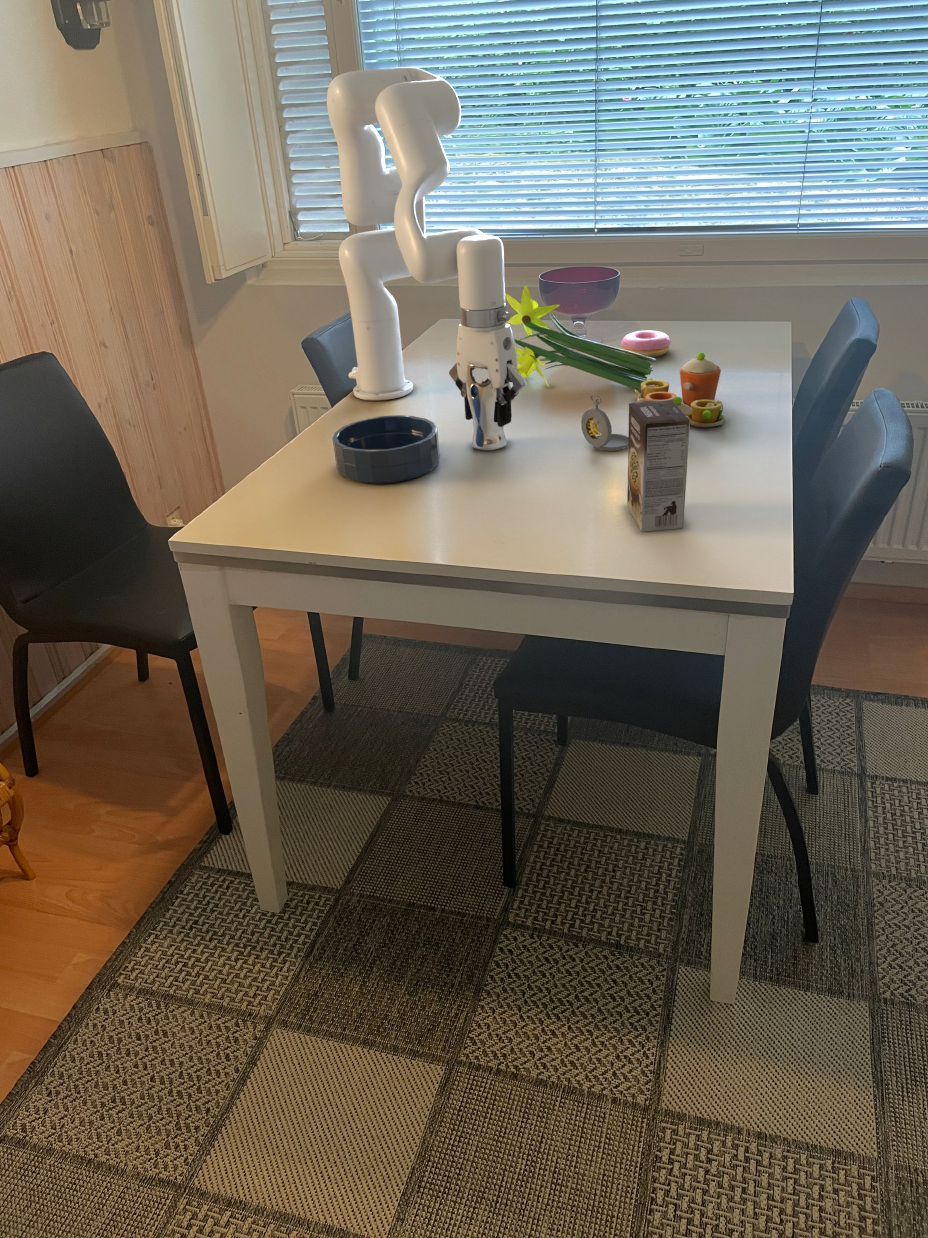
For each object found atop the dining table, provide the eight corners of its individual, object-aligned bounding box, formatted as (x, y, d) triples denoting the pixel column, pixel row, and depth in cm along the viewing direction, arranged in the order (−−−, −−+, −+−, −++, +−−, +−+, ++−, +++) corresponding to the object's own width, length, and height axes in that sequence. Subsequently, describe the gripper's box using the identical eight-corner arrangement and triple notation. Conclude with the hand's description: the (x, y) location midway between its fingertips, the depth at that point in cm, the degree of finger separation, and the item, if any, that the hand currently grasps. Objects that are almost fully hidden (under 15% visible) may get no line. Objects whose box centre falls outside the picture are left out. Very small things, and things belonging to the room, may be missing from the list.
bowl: (316, 473, 161) (311, 439, 158) (385, 441, 173) (382, 409, 170) (392, 493, 151) (387, 458, 148) (460, 458, 163) (457, 424, 160)
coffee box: (625, 507, 141) (627, 401, 132) (667, 502, 141) (672, 397, 133) (640, 533, 133) (643, 422, 125) (685, 528, 133) (691, 418, 125)
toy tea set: (632, 396, 185) (633, 347, 180) (713, 392, 184) (716, 343, 179) (645, 443, 163) (647, 388, 158) (737, 439, 161) (742, 384, 156)
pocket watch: (633, 440, 164) (634, 383, 159) (624, 457, 158) (625, 399, 153) (587, 437, 167) (587, 382, 162) (576, 454, 160) (576, 397, 155)
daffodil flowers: (631, 408, 182) (468, 351, 190) (636, 424, 196) (485, 370, 204) (665, 325, 180) (499, 271, 188) (668, 346, 194) (514, 296, 203)
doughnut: (615, 358, 209) (615, 339, 207) (627, 345, 217) (628, 326, 215) (664, 360, 205) (665, 341, 203) (675, 346, 213) (675, 328, 211)
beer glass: (505, 451, 163) (502, 366, 156) (466, 451, 165) (460, 366, 157) (511, 437, 169) (508, 353, 161) (473, 436, 171) (469, 354, 163)
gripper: (539, 316, 153) (541, 422, 162) (456, 306, 163) (463, 406, 172) (512, 327, 148) (515, 436, 157) (428, 316, 158) (436, 419, 167)
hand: (488, 419), depth 165 cm, fingers closed on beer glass, 6 cm apart
